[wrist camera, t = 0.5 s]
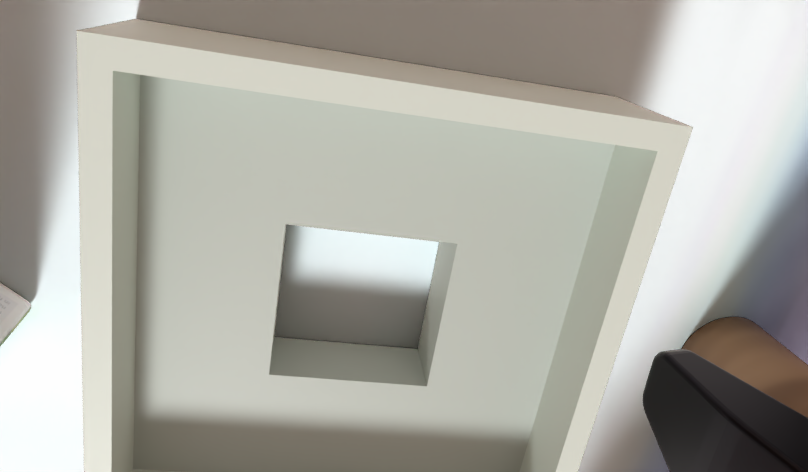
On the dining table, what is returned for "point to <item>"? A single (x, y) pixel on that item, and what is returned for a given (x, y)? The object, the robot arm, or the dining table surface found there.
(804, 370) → the peg
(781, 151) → the dining table surface
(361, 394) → the bore box
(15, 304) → the syrup box
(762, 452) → the robot arm
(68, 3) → the dining table surface
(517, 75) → the dining table surface
